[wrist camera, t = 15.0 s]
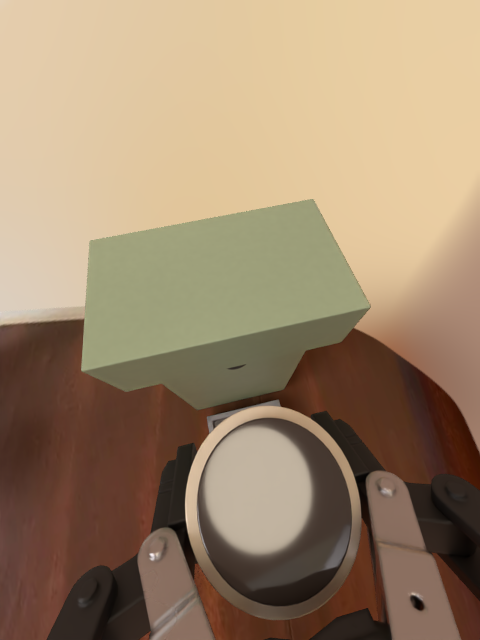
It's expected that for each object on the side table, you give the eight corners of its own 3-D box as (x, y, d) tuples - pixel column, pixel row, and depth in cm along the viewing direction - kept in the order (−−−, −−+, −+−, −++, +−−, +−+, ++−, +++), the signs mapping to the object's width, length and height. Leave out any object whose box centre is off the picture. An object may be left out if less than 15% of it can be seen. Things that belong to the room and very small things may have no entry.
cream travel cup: (287, 419, 19) (327, 386, 9) (314, 511, 17) (408, 600, 7) (212, 437, 19) (171, 423, 9) (227, 535, 16) (193, 666, 6)
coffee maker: (269, 343, 38) (301, 175, 15) (319, 509, 29) (618, 765, 5) (190, 361, 37) (90, 213, 14) (215, 537, 28) (39, 986, 5)
